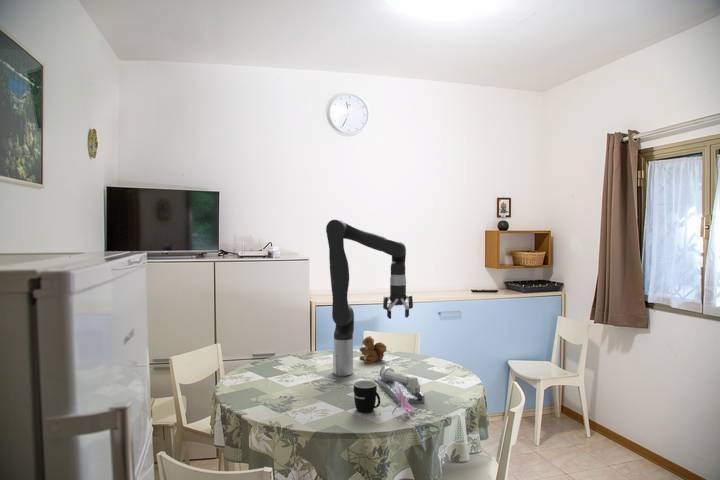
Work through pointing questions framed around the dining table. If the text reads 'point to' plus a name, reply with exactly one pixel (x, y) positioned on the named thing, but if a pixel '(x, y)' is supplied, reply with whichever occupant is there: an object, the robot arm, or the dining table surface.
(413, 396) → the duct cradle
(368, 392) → the mug
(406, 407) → the lily
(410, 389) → the electric toothbrush
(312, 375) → the dining table surface
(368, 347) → the stuffed squirrel
